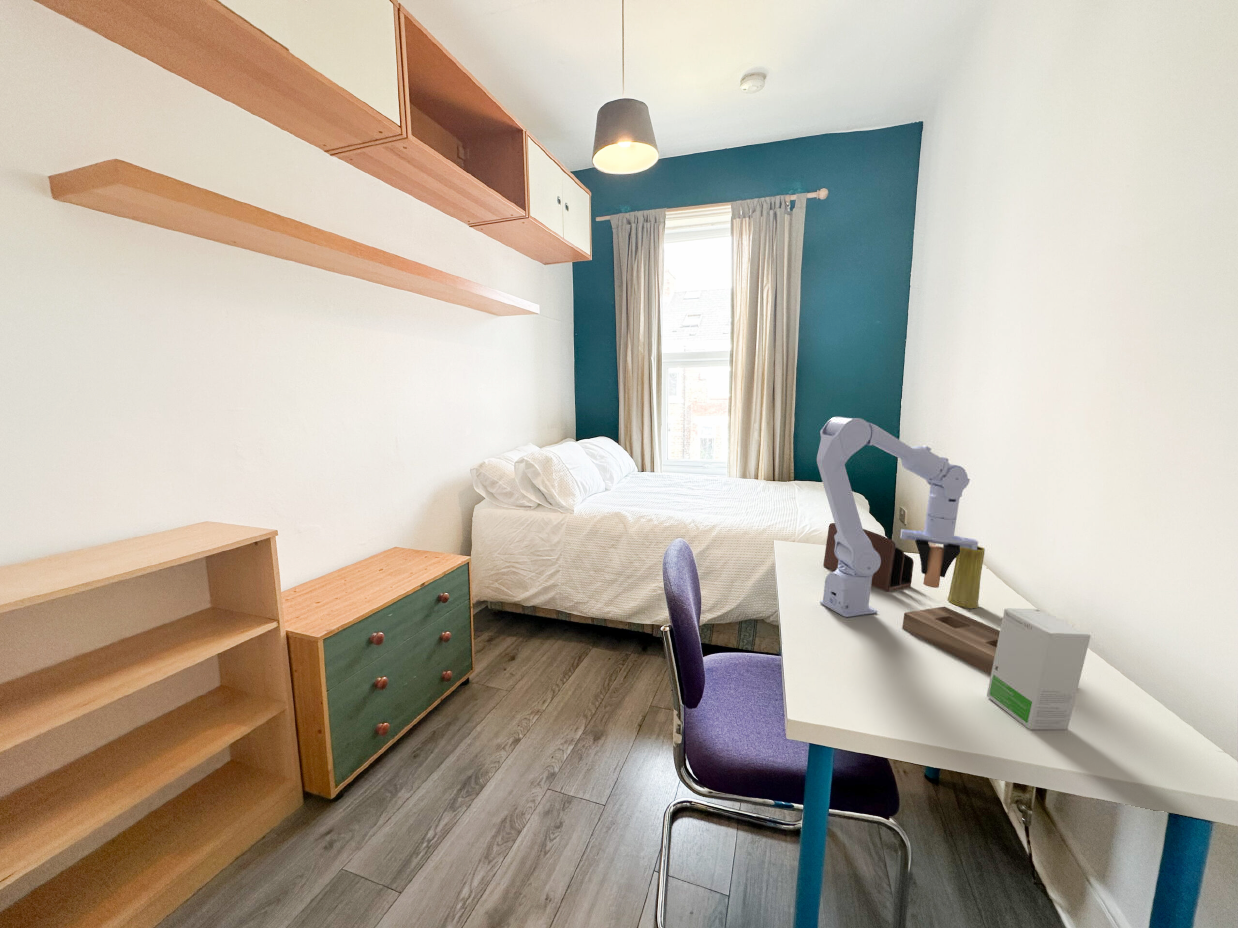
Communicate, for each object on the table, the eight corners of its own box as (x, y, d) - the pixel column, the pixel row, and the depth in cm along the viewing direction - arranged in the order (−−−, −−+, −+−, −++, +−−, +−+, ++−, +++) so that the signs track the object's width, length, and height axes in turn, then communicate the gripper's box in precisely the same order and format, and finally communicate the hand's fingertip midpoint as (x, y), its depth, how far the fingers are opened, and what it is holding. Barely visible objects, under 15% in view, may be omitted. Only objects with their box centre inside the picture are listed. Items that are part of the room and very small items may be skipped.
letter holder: (887, 592, 122) (894, 538, 120) (822, 566, 139) (827, 519, 137) (911, 587, 127) (918, 535, 125) (845, 562, 144) (850, 516, 142)
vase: (984, 609, 114) (993, 551, 112) (958, 607, 114) (967, 549, 112) (966, 598, 120) (975, 543, 118) (941, 597, 120) (949, 541, 118)
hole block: (1017, 688, 82) (1020, 668, 81) (902, 628, 102) (904, 612, 102) (1061, 677, 86) (1064, 658, 85) (942, 621, 106) (944, 606, 106)
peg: (932, 588, 109) (938, 549, 108) (920, 583, 112) (925, 545, 110) (942, 587, 110) (947, 548, 109) (929, 582, 113) (935, 544, 112)
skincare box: (985, 696, 79) (999, 606, 77) (1022, 696, 80) (1038, 607, 77) (1032, 732, 71) (1050, 632, 69) (1073, 731, 71) (1093, 632, 69)
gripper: (975, 517, 109) (966, 574, 111) (902, 508, 115) (895, 562, 117) (983, 524, 103) (974, 585, 105) (905, 514, 109) (897, 571, 111)
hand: (932, 574), depth 110 cm, fingers closed on peg, 3 cm apart
